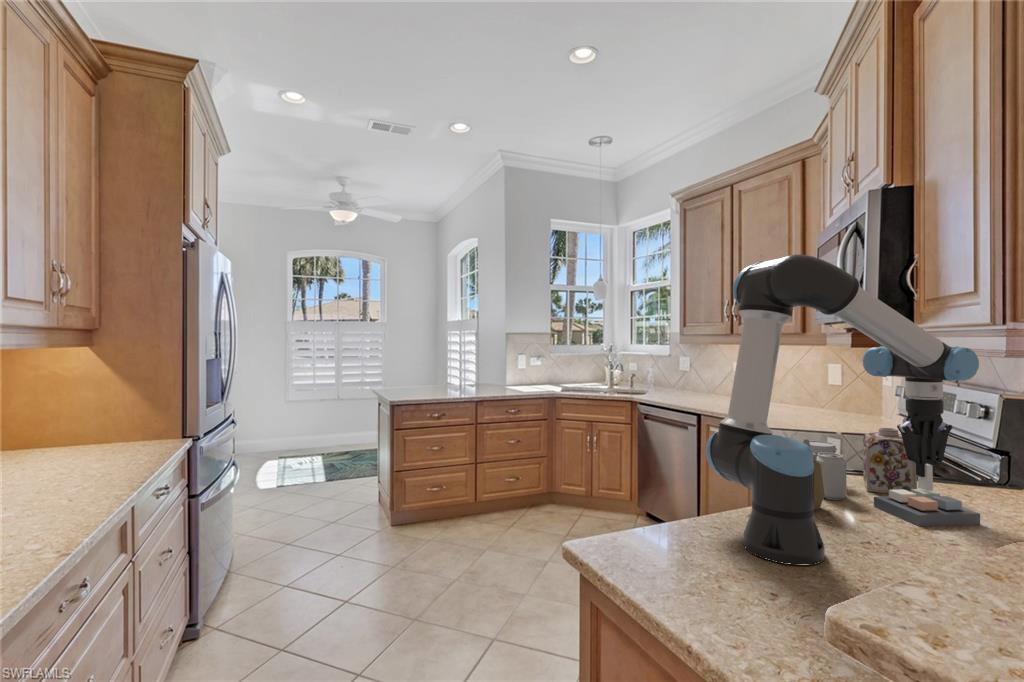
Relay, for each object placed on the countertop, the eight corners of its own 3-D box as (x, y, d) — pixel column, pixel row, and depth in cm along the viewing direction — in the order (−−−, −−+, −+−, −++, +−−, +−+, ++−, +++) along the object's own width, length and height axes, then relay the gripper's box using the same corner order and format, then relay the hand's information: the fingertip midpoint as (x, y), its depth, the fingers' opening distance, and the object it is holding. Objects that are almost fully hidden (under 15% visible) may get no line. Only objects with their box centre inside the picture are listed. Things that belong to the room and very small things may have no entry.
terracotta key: (921, 515, 119) (921, 502, 119) (908, 509, 123) (907, 496, 123) (938, 514, 119) (937, 501, 119) (923, 509, 123) (923, 496, 123)
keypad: (919, 526, 117) (918, 515, 117) (873, 506, 131) (873, 496, 131) (980, 524, 118) (980, 513, 118) (928, 505, 132) (928, 495, 132)
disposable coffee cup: (837, 480, 156) (836, 442, 156) (837, 488, 148) (837, 447, 148) (802, 476, 161) (801, 439, 161) (800, 483, 153) (800, 444, 153)
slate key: (946, 514, 119) (945, 501, 119) (931, 508, 123) (931, 496, 123) (962, 514, 120) (961, 501, 120) (946, 508, 124) (946, 496, 124)
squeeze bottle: (783, 501, 136) (782, 436, 136) (813, 501, 136) (812, 436, 136) (800, 512, 128) (799, 442, 128) (831, 512, 127) (831, 442, 127)
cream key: (901, 506, 125) (901, 494, 125) (889, 501, 129) (888, 489, 129) (916, 506, 125) (916, 494, 125) (903, 501, 129) (903, 489, 129)
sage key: (924, 506, 125) (924, 493, 125) (911, 501, 129) (911, 489, 129) (939, 505, 126) (939, 493, 126) (926, 500, 130) (925, 488, 130)
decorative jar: (917, 498, 138) (916, 433, 138) (866, 491, 144) (865, 430, 144) (910, 487, 148) (910, 427, 148) (863, 481, 154) (862, 423, 154)
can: (851, 501, 136) (851, 457, 136) (821, 499, 137) (821, 456, 137) (839, 492, 143) (839, 451, 143) (811, 491, 144) (810, 450, 144)
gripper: (911, 400, 124) (913, 494, 124) (962, 399, 124) (963, 492, 124) (887, 396, 131) (889, 485, 131) (935, 395, 131) (937, 484, 132)
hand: (925, 488), depth 128 cm, fingers closed
